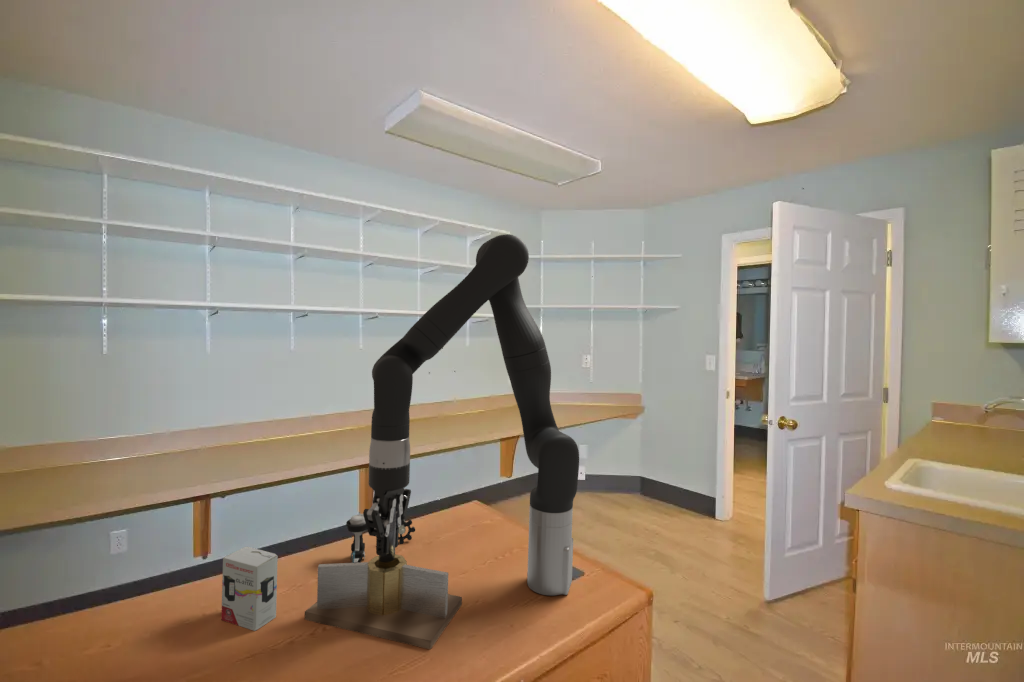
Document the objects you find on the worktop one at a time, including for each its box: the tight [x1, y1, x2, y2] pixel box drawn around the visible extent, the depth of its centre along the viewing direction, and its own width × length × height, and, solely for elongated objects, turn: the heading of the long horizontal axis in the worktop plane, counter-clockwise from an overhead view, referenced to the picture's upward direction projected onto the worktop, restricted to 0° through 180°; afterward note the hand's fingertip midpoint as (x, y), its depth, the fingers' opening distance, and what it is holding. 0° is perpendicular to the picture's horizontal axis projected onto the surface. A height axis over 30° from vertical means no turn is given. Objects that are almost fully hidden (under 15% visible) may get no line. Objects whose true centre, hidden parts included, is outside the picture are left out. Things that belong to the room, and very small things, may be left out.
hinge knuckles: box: [316, 553, 449, 618], centre depth 90 cm, size 24×9×8 cm, turn 74°
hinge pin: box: [378, 506, 396, 563], centre depth 91 cm, size 3×3×10 cm
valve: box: [398, 518, 416, 545], centre depth 125 cm, size 7×7×12 cm
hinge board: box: [304, 593, 463, 650], centre depth 91 cm, size 26×14×2 cm, turn 74°
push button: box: [345, 513, 368, 563], centre depth 110 cm, size 7×5×10 cm
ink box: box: [220, 546, 279, 632], centre depth 88 cm, size 9×5×12 cm, turn 70°
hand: (387, 550), depth 91 cm, fingers closed on hinge pin, 3 cm apart
